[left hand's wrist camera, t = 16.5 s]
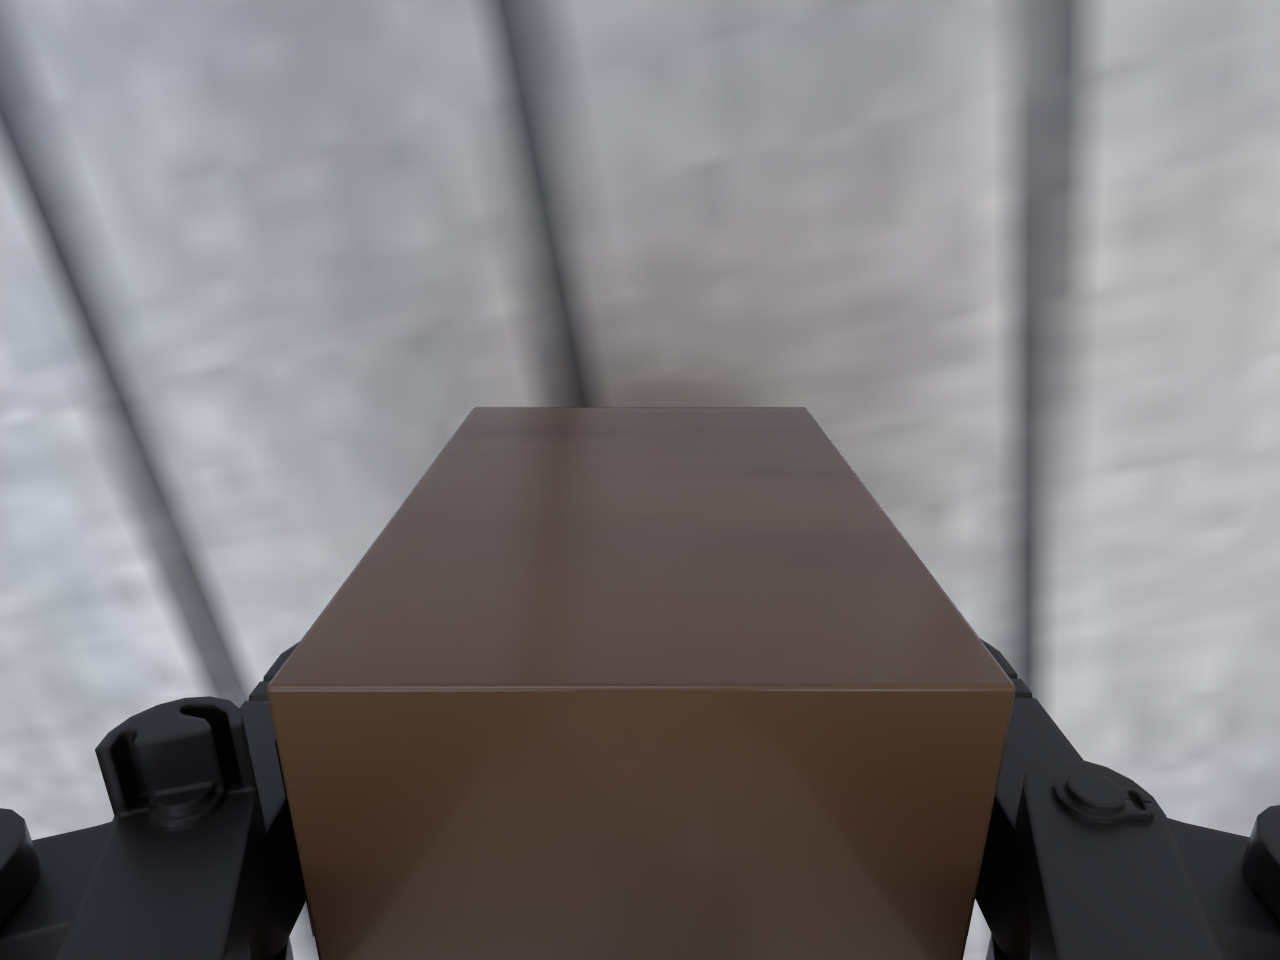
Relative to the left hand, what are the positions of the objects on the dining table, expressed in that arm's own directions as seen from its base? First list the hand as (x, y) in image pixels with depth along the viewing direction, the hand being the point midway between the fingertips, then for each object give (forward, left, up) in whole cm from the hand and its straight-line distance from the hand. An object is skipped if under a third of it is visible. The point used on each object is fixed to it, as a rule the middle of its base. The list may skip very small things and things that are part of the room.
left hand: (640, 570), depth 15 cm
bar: (+12, +6, -1) cm, 14 cm away
